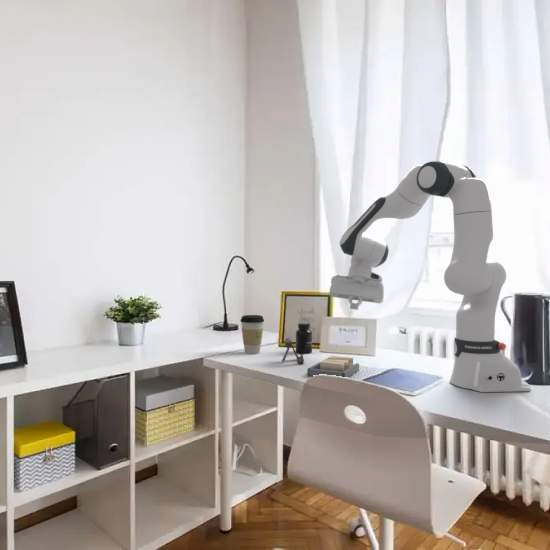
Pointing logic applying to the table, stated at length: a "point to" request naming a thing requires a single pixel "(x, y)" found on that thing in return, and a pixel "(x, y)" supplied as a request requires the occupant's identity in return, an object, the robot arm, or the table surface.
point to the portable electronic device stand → (288, 345)
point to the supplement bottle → (304, 339)
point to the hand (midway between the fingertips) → (353, 308)
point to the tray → (347, 373)
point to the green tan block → (336, 363)
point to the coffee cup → (252, 333)
